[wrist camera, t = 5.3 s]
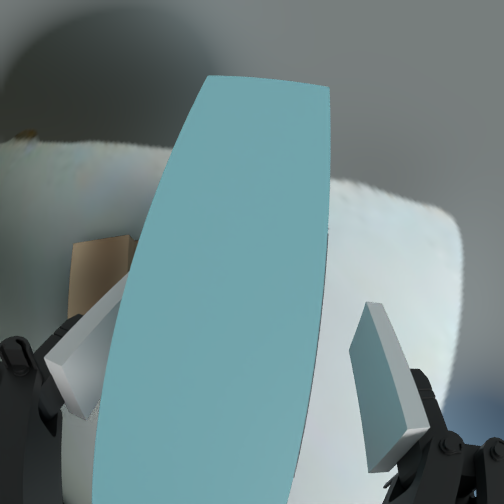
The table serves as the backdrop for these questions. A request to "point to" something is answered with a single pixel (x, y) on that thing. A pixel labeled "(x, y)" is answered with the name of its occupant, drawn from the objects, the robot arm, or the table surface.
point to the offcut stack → (97, 270)
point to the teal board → (222, 305)
